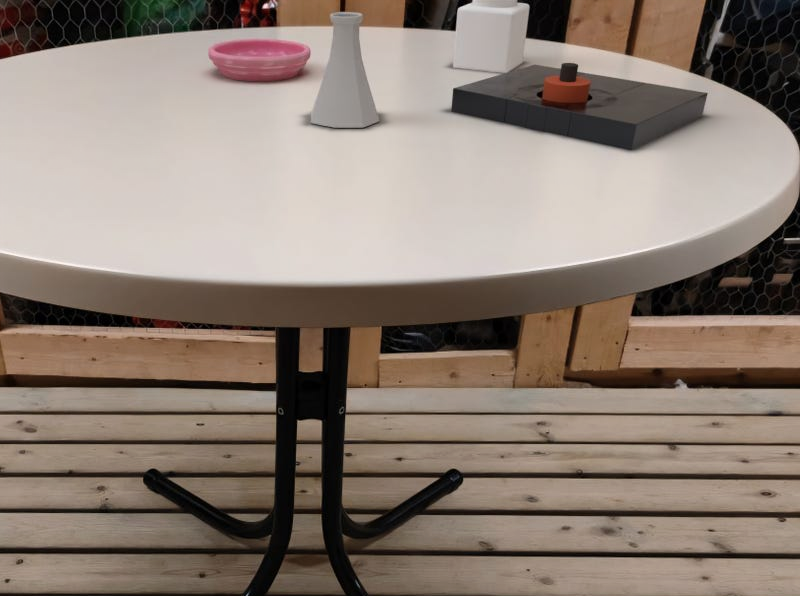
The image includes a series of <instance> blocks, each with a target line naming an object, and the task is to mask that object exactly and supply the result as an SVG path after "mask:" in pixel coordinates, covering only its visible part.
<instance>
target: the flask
mask: <svg viewBox="0 0 800 596" xmlns="http://www.w3.org/2000/svg"><path fill="white" fill-rule="evenodd" d="M329 18H330V22H331V23H332V38H331V39H332V40H331V45H330V52H329V58H328V61H327V64H326V67H325V71H324V74H323V77H322V80H321V83H320V87H319V89H318V93H317V95H316V99H315V101H314V104H313V107H312V109H311V113H310V124H314V125H319V126H325V127H329V128H334V129H335V128H345V129H347V128H349V129H351V128H354V129H355V128H359V129H361V128H363V129H364V128H366V127H369V126H371V125H374V124H376V123H379V122H380V119H379V115H378V111H377V108H376V103H375V100H374V97H373V93H372V91H371V87H370V84H369V80H368V76H367V72H366V69H365V65H364V61H363V58H362V57H363V56H362V48H361V42H360V25H361V23H362V22H363V19H364V17H363V13H361V12H353V11H338V12H333V13H329Z"/></svg>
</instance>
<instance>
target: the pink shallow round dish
mask: <svg viewBox="0 0 800 596" xmlns="http://www.w3.org/2000/svg"><path fill="white" fill-rule="evenodd" d="M207 50H208V51H207V55H208V57H209V58H208V59H210V60H211V62H212V64H213V65H214V66H215V67H216V68H218V69H219V71H220V73H221V75H223V77H225V78H227V79H228V78H229V79H232V80H235V81H242V82H243V81H244V82H276V81H283V80H287V79H291V78H294V77H296V76H298V75H299V73H300V71H301V69H302V68H304V67H305V66H306V65H307V62H308V61H309V59H310V58H311V48H310V47H309V46H308V45H307V44H304V43H300V42H297V41H293V40H292V41H291V40H285V39H277V38H276V39H275V38H245V39H233V40H226V41H221V42H217V43H214V44H212V45H211V46H209V47H208V49H207Z"/></svg>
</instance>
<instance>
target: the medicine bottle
mask: <svg viewBox="0 0 800 596" xmlns="http://www.w3.org/2000/svg"><path fill="white" fill-rule="evenodd" d="M529 15H530V5H529V4H528V3H524V2H518V0H472V1H471V2H470V3H467V4H464V5H463V6H460V7H458V8H457V12H456V23H455V36H454V48H453V60H452V61H453V62H452V67H453V69H462V70H470V71H471V70H472V71H480V72H491V73H500V74H504V73H507V72H511V71H513V69H516V68H517V67H518V66H520V65H521V64H523V62H524V55H525V46H526V38H527V31H528V22H529Z"/></svg>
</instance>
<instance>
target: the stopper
mask: <svg viewBox="0 0 800 596" xmlns="http://www.w3.org/2000/svg"><path fill="white" fill-rule="evenodd" d="M560 65H561V66H560V69H561V71H560V76H551V77H547V78H545V81H544V88H543V95H542V99H544V100H548V101H554V102H564V103H579V102H587V100H588V94H589V88H590V80H588V79H585V78H582V77H577V72H579V71H578V70H579V64H577V63H576V62H575V63H574V62H563V63H561V64H560Z"/></svg>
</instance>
